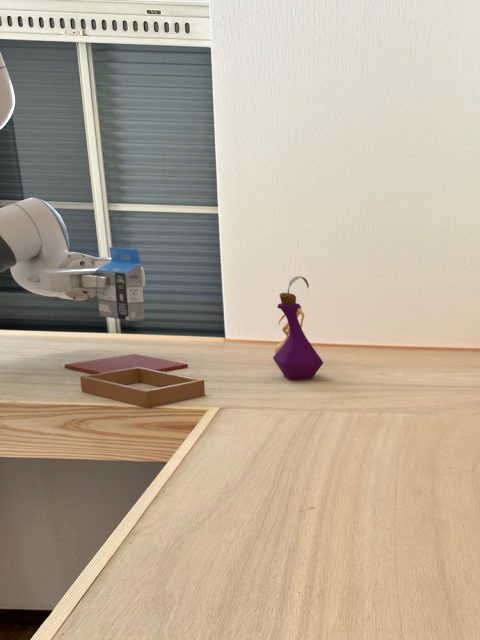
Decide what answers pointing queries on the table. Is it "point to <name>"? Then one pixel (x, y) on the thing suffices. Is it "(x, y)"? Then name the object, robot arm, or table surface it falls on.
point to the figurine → (288, 328)
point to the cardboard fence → (116, 389)
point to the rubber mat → (125, 364)
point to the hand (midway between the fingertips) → (118, 281)
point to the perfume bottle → (296, 343)
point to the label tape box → (122, 286)
